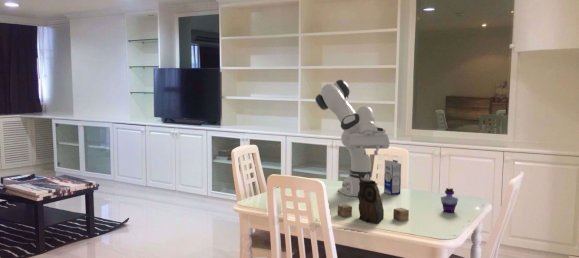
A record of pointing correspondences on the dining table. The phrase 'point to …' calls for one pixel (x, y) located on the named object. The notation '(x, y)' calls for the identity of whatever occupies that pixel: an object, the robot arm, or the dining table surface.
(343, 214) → the walnut block one
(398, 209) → the walnut block two
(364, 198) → the dark brown speaker
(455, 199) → the potion bottle
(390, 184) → the milk carton
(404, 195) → the dining table surface
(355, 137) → the robot arm
